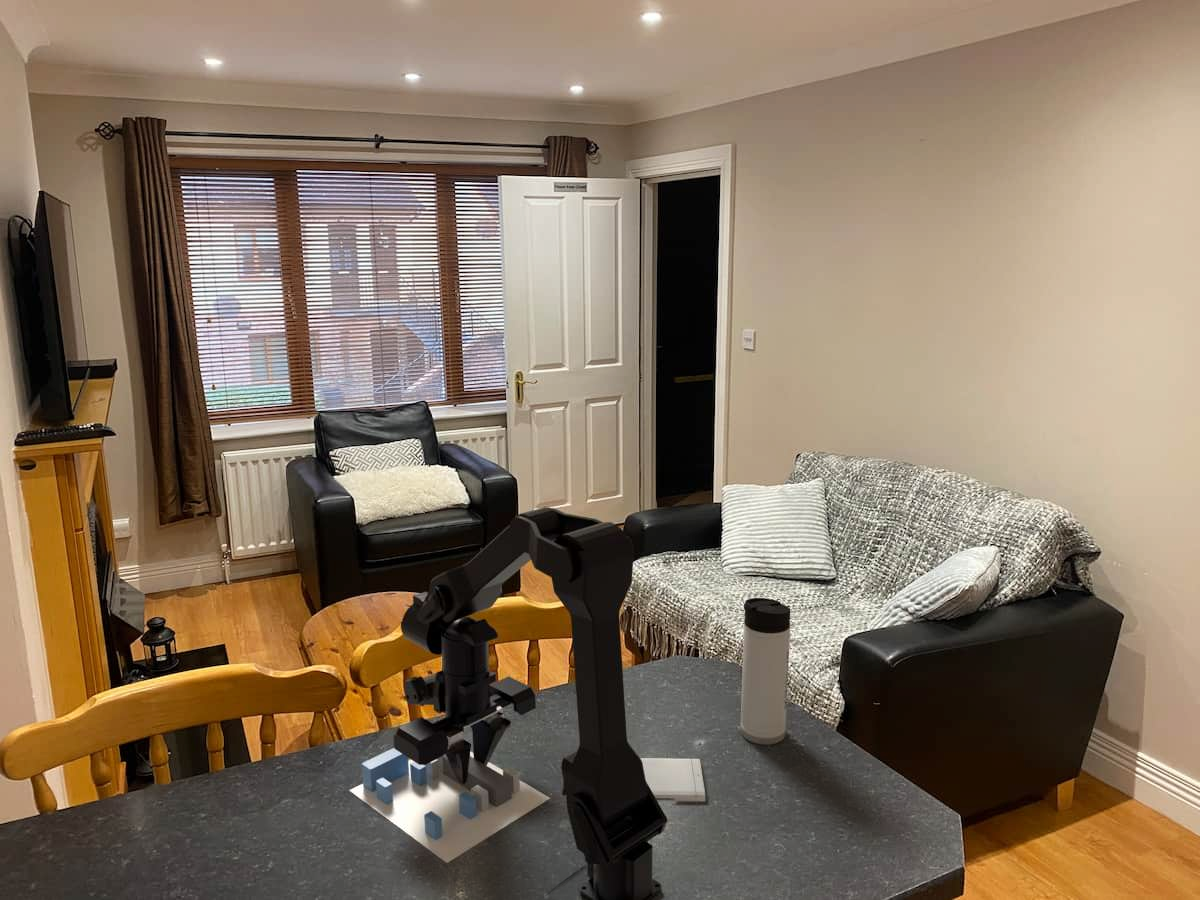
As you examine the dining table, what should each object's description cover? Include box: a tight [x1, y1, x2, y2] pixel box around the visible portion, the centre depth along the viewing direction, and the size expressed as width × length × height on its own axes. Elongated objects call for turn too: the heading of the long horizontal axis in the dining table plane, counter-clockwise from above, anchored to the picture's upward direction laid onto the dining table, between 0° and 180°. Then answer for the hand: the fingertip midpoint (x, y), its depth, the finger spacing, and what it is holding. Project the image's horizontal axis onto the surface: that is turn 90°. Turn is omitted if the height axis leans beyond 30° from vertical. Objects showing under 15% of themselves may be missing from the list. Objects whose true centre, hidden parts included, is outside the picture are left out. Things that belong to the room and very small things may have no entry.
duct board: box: [348, 747, 551, 864], centre depth 110 cm, size 20×16×4 cm
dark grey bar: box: [437, 754, 512, 808], centre depth 112 cm, size 13×2×2 cm, turn 47°
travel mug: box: [740, 597, 791, 746], centre depth 122 cm, size 6×7×20 cm
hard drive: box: [640, 757, 706, 802], centre depth 113 cm, size 2×8×12 cm
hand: (470, 777), depth 113 cm, fingers closed on dark grey bar, 2 cm apart
